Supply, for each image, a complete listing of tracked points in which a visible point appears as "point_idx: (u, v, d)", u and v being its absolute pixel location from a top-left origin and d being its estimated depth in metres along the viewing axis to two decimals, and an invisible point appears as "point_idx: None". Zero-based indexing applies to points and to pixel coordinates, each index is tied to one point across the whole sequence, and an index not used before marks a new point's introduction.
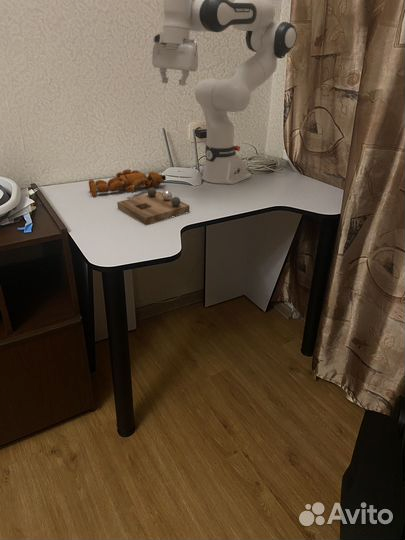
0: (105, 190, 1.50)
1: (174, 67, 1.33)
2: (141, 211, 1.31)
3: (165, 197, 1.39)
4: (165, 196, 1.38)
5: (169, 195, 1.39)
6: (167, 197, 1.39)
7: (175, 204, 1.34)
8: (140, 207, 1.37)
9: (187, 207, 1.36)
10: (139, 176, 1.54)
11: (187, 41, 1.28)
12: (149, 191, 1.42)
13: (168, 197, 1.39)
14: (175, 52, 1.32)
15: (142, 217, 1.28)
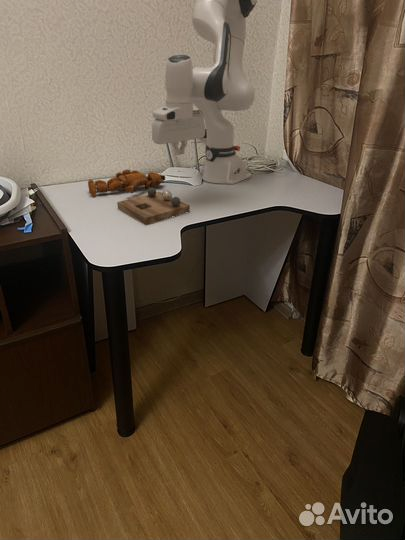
0: (104, 190, 1.50)
1: (187, 138, 1.34)
2: (141, 211, 1.31)
3: (165, 197, 1.39)
4: (165, 196, 1.38)
5: (169, 195, 1.39)
6: (167, 197, 1.39)
7: (175, 204, 1.34)
8: (140, 207, 1.37)
9: (187, 207, 1.36)
10: (138, 176, 1.54)
11: (195, 112, 1.33)
12: (149, 191, 1.42)
13: (168, 197, 1.39)
14: (187, 124, 1.32)
15: (142, 217, 1.28)
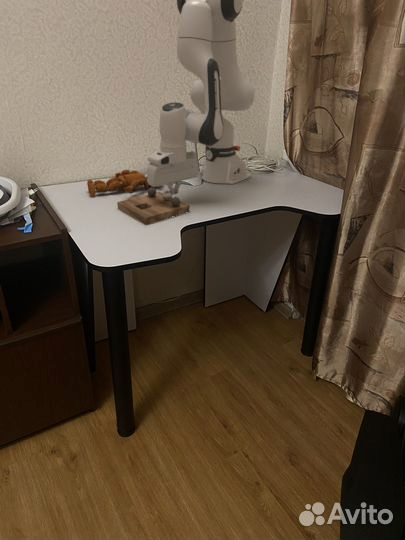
0: (103, 190, 1.49)
1: (181, 179, 1.39)
2: (141, 211, 1.31)
3: (165, 197, 1.39)
4: (165, 196, 1.38)
5: (169, 195, 1.38)
6: (167, 197, 1.39)
7: (175, 204, 1.34)
8: (140, 207, 1.37)
9: (187, 207, 1.36)
10: (137, 177, 1.53)
11: (188, 154, 1.38)
12: (149, 191, 1.42)
13: (168, 197, 1.39)
14: (180, 166, 1.37)
15: (142, 217, 1.28)
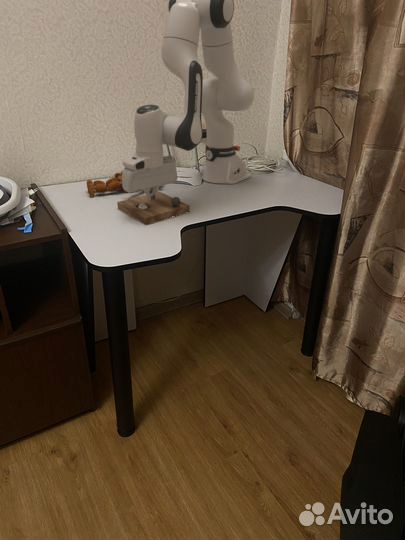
0: (103, 190, 1.49)
1: (159, 184, 1.34)
2: (141, 211, 1.31)
3: None
4: None
5: None
6: None
7: (175, 204, 1.34)
8: None
9: (187, 207, 1.36)
10: None
11: (166, 158, 1.33)
12: (149, 191, 1.42)
13: None
14: (157, 171, 1.31)
15: (142, 217, 1.28)
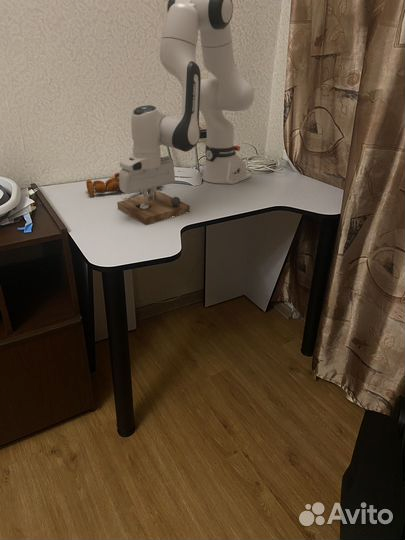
0: (102, 191, 1.49)
1: (156, 185, 1.33)
2: (141, 211, 1.31)
3: None
4: None
5: None
6: None
7: (175, 204, 1.34)
8: None
9: (187, 207, 1.36)
10: None
11: (163, 159, 1.32)
12: (149, 191, 1.42)
13: None
14: (155, 172, 1.31)
15: (142, 217, 1.28)
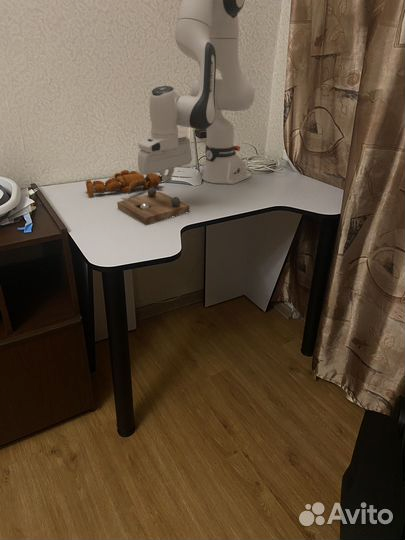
0: (102, 191, 1.49)
1: (174, 166, 1.35)
2: (141, 211, 1.31)
3: None
4: None
5: None
6: None
7: (175, 204, 1.34)
8: None
9: (187, 207, 1.36)
10: (136, 177, 1.53)
11: (181, 140, 1.34)
12: (149, 191, 1.42)
13: None
14: (173, 153, 1.33)
15: (142, 217, 1.28)
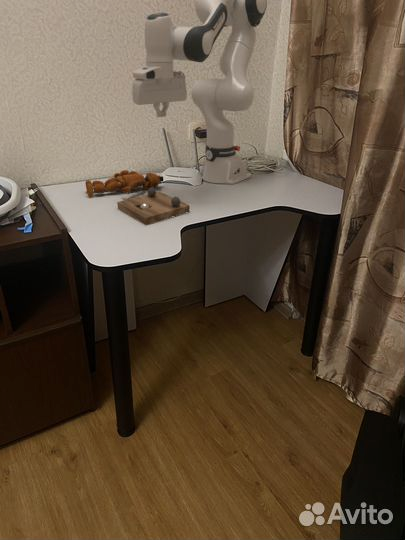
0: (101, 191, 1.49)
1: (169, 100, 1.33)
2: (141, 211, 1.31)
3: None
4: None
5: None
6: None
7: (175, 204, 1.34)
8: None
9: (187, 207, 1.36)
10: (136, 177, 1.53)
11: (176, 73, 1.33)
12: (149, 191, 1.42)
13: None
14: (167, 85, 1.31)
15: (142, 217, 1.28)
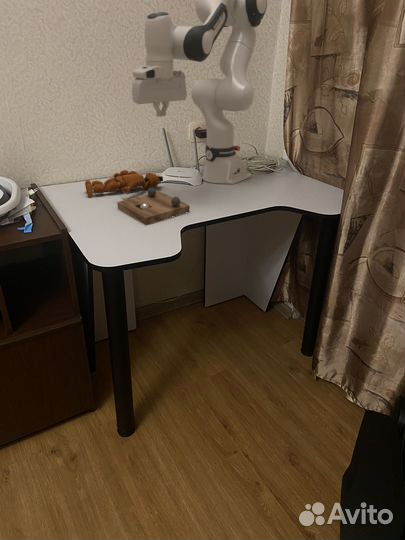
0: (101, 191, 1.49)
1: (169, 99, 1.33)
2: (141, 211, 1.31)
3: None
4: (142, 209, 1.34)
5: None
6: None
7: (175, 204, 1.34)
8: None
9: (187, 207, 1.36)
10: (135, 177, 1.53)
11: (176, 73, 1.33)
12: (149, 191, 1.42)
13: None
14: (167, 85, 1.31)
15: (142, 217, 1.28)
